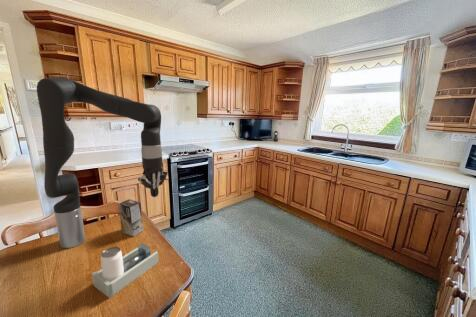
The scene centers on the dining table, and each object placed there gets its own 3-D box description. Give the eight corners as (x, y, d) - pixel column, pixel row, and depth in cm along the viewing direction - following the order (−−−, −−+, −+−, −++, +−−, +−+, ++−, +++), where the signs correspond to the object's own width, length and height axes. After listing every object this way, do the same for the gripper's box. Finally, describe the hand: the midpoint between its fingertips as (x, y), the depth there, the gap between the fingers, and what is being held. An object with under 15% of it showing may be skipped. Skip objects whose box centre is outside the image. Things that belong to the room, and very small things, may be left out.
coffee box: (143, 230, 107) (141, 202, 103) (133, 237, 101) (130, 207, 98) (131, 226, 111) (129, 198, 107) (120, 232, 105) (117, 203, 102)
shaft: (118, 271, 78) (117, 258, 76) (143, 255, 86) (142, 243, 85) (126, 277, 75) (125, 263, 74) (151, 260, 84) (150, 247, 83)
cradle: (93, 285, 72) (91, 273, 71) (143, 253, 89) (142, 243, 88) (109, 298, 68) (107, 285, 67) (158, 261, 85) (158, 251, 84)
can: (115, 289, 70) (111, 259, 67) (99, 286, 71) (95, 256, 68) (128, 275, 76) (125, 247, 73) (113, 272, 77) (110, 244, 75)
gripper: (143, 160, 74) (146, 204, 77) (171, 154, 85) (173, 193, 89) (130, 157, 77) (134, 199, 81) (159, 152, 88) (161, 189, 92)
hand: (154, 196), depth 85 cm, fingers closed
